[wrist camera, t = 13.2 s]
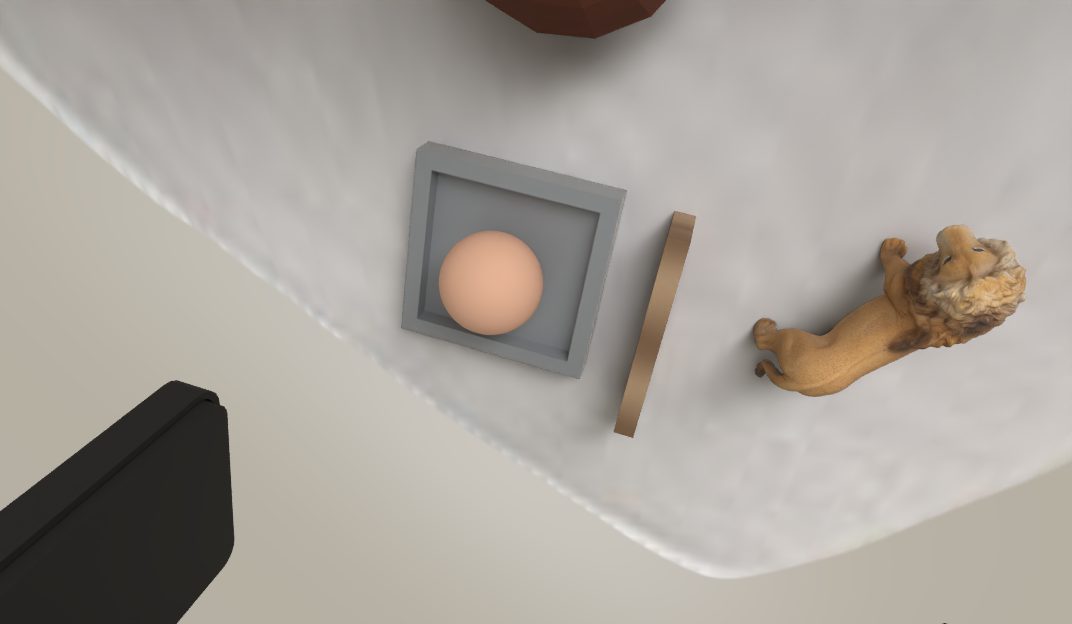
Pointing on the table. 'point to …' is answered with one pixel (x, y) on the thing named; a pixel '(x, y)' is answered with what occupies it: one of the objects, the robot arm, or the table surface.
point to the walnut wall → (655, 321)
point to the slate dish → (535, 218)
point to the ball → (491, 282)
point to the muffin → (578, 15)
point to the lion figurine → (902, 313)
